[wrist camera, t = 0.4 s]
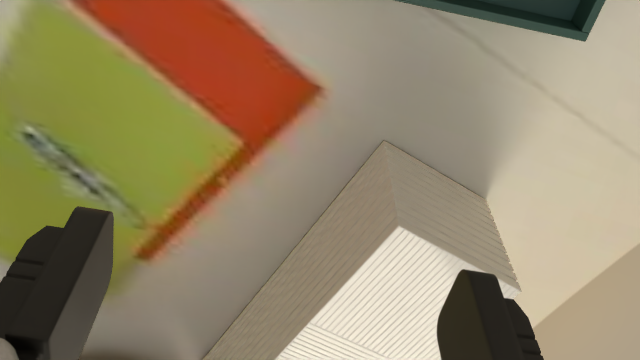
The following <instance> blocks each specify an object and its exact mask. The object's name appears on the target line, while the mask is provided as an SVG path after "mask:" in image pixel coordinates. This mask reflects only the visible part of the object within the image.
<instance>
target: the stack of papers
mask: <svg viewBox="0 0 640 360" xmlns="http://www.w3.org/2000/svg"><path fill="white" fill-rule="evenodd" d="M493 221H494V219H493V217H492V215H491V211H490V209H489V208H488V204H487V201H486V200H485V199H483V198H482V197H480V196H478V195H477V194H475V193H473V192H472V191H470V190H468V189H466V188H465V187H463V186H461V185H460V184H458V183H456V182H454V181H453V180H451V179H449V178H448V177H446V176H444V175H442V174H441V173H439V172H437V171H436V170H434V169H432V168H431V167H429V166H427V165H425V164H424V163H422V162H420V161H419V160H417V159H415V158H413V157H412V156H410V155H408V154H407V153H405V152H403V151H401V150H400V149H398V148H396V147H395V146H393V145H391V144H390V143H388V142H386V141H383V142H382V143H381V144H380V146H379V147H378V148H377V149H376V150H375V152H374V153H373V154H372V155H371V156H370V158H369V159H368V160H367V161H366V163H365V164H364V165H363V166H362V167H361V169H360V170H359V171H358V172H357V173H356V175H355V176H354V177H353V178H352V180H351V181H350V182H349V183H348V184H347V186H346V187H345V188H344V189H343V190H342V192H341V193H340V194H339V195H338V197H337V198H336V199H335V200H334V201H333V203H332V204H331V205H330V206H329V207H328V209H327V210H326V211H325V212H324V213H323V215H322V216H321V217H320V218H319V220H318V221H317V222H316V223H315V224H314V226H313V227H312V228H311V229H310V230H309V232H308V233H307V234H306V235H305V237H304V238H303V239H302V240H301V241H300V243H299V244H298V245H297V246H296V247H295V249H294V250H293V251H292V252H291V254H290V255H289V256H288V257H287V258H286V260H285V261H284V262H283V263H282V264H281V266H280V267H279V268H278V269H277V270H276V272H275V273H274V274H273V275H272V277H271V278H270V279H269V280H268V281H267V283H266V284H265V285H264V286H263V287H262V289H261V290H260V291H259V292H258V294H257V295H256V296H255V297H254V298H253V300H252V301H251V302H250V303H249V304H248V306H247V307H246V308H245V309H244V310H243V312H242V313H241V314H240V315H239V317H238V318H237V319H236V320H235V321H234V323H233V324H232V325H231V326H230V327H229V329H228V330H227V331H226V332H225V334H224V335H223V336H222V337H221V338H220V340H219V341H218V342H217V343H216V344H215V346H214V347H213V348H212V349H211V351H210V352H209V353H208V354H207V355H206V357H205V358H204V359H203V360H441V356H440V351H439V346H438V341H437V322H438V317H439V314H440V311H441V309H442V307H443V305H444V303H445V300H446V298H447V296H448V294H449V292H450V290H451V288H452V286H453V283H454V281H455V279H456V277H457V275H458V273H459V272H460V271H461V270H462V269H465V270H472V271H478V272H484V273H490V274H494V275H495V276H496V277H497V279H498V282H499V285H500V288H501V291H502V293H503V296H504V298H508V299H513V298H514V297H515V296H517V295H518V294H519V293H520V292H521V288H520V286H519V283H518V282H516V281H517V278H516V276H515V273H513V271H514V270H513V268H512V265H511V264H510V263H509V262H510V260H509V258H508V255H507V254H506V253H507V252H506V250H505V247H504V246H502V245H503V242H502V240H501V238H500V235H499V232H498V230H496V229H497V227H496V224H495V222H493Z"/></svg>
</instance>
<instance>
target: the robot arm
mask: <svg viewBox="0 0 640 360" xmlns="http://www.w3.org/2000/svg"><path fill="white" fill-rule="evenodd" d="M113 226H114V217H113V213H112V212H110V211H104V210H98V209H92V208H86V207H79V206H78V207H76V208H75V209H74V211H73V212H72V214H71V216H70V218H69V220H68V221H67V223H66V225H65V227H64V228H60V227H54V226H46V227H44V228H43V229H41V230H40V231H39V232H37V233H36V234H34V235H33V236H32V237H30V238H29V239H27V241H26V242H25V244H24V246H23V247H22V249H21V250H20V252H19V254H18V255H17V257H16V260H15V262H13V263H12V265H11V266H10V268H9V270H8V271H7V274H6V277H4V278H3V279H2V281H1V283H0V360H79V357H80V355H81V352H82V350H83V347H84V345H85V342H86V340H87V338H88V335H89V333H90V330H91V328H92V325H93V323H94V320H95V318H96V316H97V313H98V311H99V308H100V306H101V303H102V301H103V298H104V296H105V294H106V291H107V288H108V285H109V282H110V278H111V273H112V267H113ZM437 341H438V346H439V351H440V356H441V360H544V359H543V356H541V355H540V353H541V351H540V348H539V346H538V343H537V341H536V340H535V335H534V332H533V329H532V327H531V324H530V321H529V319H528V317H527V316H526V314H525V313H524V312H523V311H522V309H521V308H520V307H519V306H518V304H517V303H516V302H515V301H514V299H508V298H504V296H503V293H502V291H501V288H500V285H499V282H498V279H497V277H496V276H495V275H494V274H490V273H484V272H478V271H472V270H465V269H462V270H461V271H460V272H459V273H458V275H457V277H456V279H455V281H454V283H453V286H452V288H451V290H450V292H449V294H448V296H447V298H446V300H445V303H444V305H443V307H442V309H441V311H440V314H439V317H438V322H437Z"/></svg>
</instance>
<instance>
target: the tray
mask: <svg viewBox="0 0 640 360" xmlns="http://www.w3.org/2000/svg"><path fill="white" fill-rule="evenodd" d="M395 1H399V2H404V3H409V4H413V5H418V6H423V7H427V8H432V9H437V10H441V11H446V12H450V13H455V14H460V15H464V16H469V17H474V18H478V19H483V20H488V21H492V22H497V23H501V24H506V25H511V26H515V27H520V28H525V29H529V30H534V31H539V32H543V33H548V34H552V35H557V36H562V37H566V38H571V39H576V40H580V41H586V39H587V37H588V35H589V33H590V31H591V29H592V27H593V25H594V23H595V21H596V19H597V17H598V15H599V13H600V10H601V8H602V6H603V4H604V2H605V0H395Z"/></svg>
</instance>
